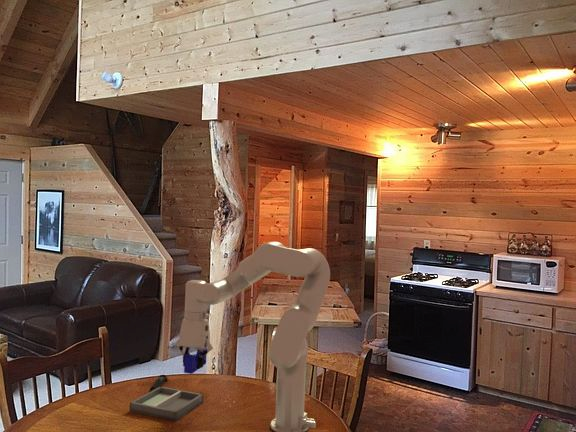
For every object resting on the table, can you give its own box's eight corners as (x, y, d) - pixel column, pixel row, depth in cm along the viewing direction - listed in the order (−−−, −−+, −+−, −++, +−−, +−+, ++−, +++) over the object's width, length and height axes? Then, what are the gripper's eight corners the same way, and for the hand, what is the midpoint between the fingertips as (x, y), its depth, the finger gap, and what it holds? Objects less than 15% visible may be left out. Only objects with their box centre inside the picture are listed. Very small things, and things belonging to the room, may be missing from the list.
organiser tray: (203, 402, 186) (203, 394, 186) (175, 421, 170) (175, 412, 169) (160, 394, 193) (160, 386, 193) (129, 411, 176) (129, 402, 176)
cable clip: (194, 362, 185) (195, 345, 185) (206, 363, 184) (206, 347, 184) (180, 372, 173) (180, 354, 173) (192, 373, 172) (192, 356, 172)
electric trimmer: (146, 394, 194) (147, 386, 194) (159, 380, 209) (159, 372, 209) (156, 395, 194) (156, 387, 194) (168, 380, 209) (168, 373, 209)
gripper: (221, 316, 178) (219, 367, 179) (180, 310, 184) (178, 360, 185) (211, 320, 171) (208, 373, 172) (168, 314, 177) (166, 365, 178)
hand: (193, 366), depth 178 cm, fingers closed on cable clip, 5 cm apart
